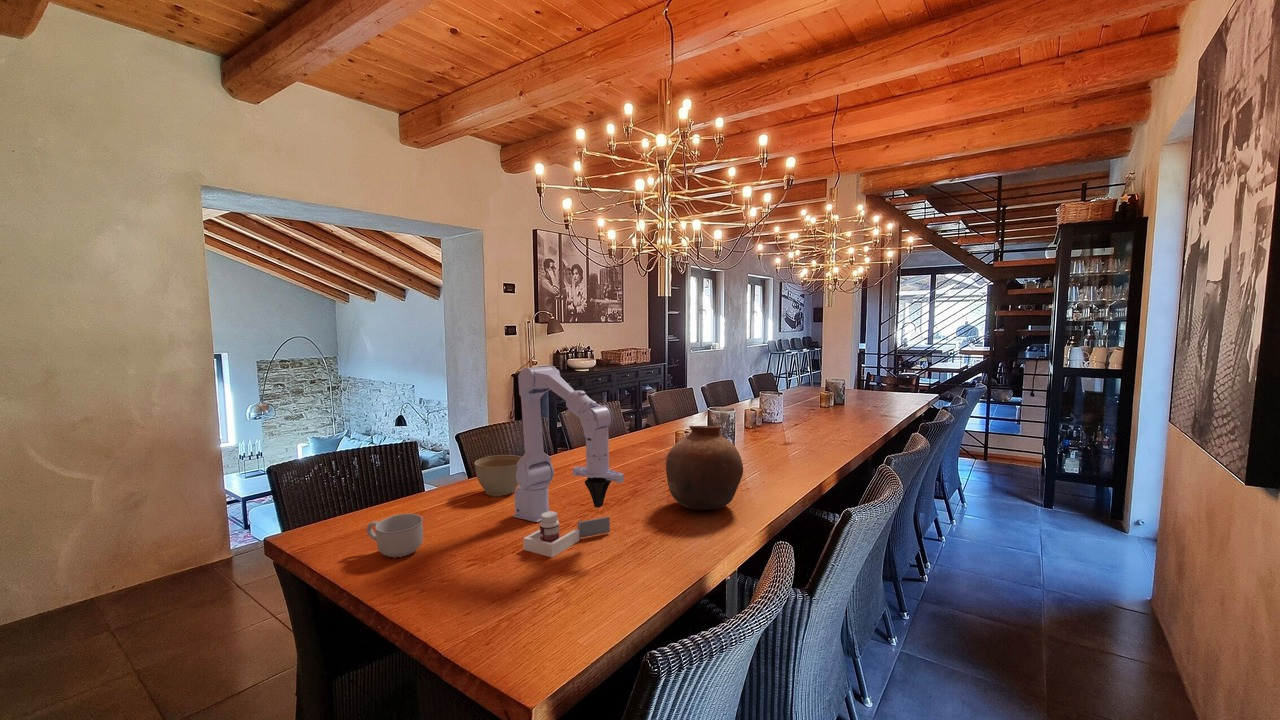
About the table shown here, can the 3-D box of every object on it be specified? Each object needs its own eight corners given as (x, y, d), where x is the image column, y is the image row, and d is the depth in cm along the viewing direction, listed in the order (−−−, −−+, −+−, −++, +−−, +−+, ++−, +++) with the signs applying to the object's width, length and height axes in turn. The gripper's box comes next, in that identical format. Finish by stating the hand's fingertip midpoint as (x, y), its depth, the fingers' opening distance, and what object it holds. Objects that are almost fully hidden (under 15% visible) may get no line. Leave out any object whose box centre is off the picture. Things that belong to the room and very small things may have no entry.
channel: (523, 549, 131) (523, 538, 131) (552, 534, 140) (551, 523, 140) (551, 557, 126) (551, 545, 126) (579, 540, 136) (579, 529, 136)
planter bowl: (519, 500, 168) (518, 466, 167) (468, 501, 168) (467, 467, 167) (530, 484, 184) (529, 454, 183) (484, 485, 184) (483, 454, 183)
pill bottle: (541, 543, 135) (540, 511, 134) (559, 542, 135) (559, 510, 135) (540, 551, 130) (539, 518, 129) (559, 550, 131) (558, 517, 130)
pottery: (689, 526, 144) (688, 436, 143) (653, 500, 165) (652, 422, 164) (758, 513, 153) (758, 428, 152) (716, 490, 175) (715, 415, 173)
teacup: (433, 546, 134) (432, 515, 133) (401, 565, 124) (399, 532, 123) (390, 539, 138) (388, 510, 138) (355, 557, 128) (354, 525, 128)
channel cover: (578, 539, 136) (578, 522, 136) (577, 537, 137) (577, 521, 137) (609, 532, 140) (609, 516, 140) (608, 531, 141) (608, 515, 140)
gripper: (565, 454, 134) (566, 506, 135) (612, 461, 127) (614, 516, 128) (581, 448, 140) (582, 498, 141) (628, 454, 133) (629, 507, 134)
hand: (598, 506), depth 135 cm, fingers closed
